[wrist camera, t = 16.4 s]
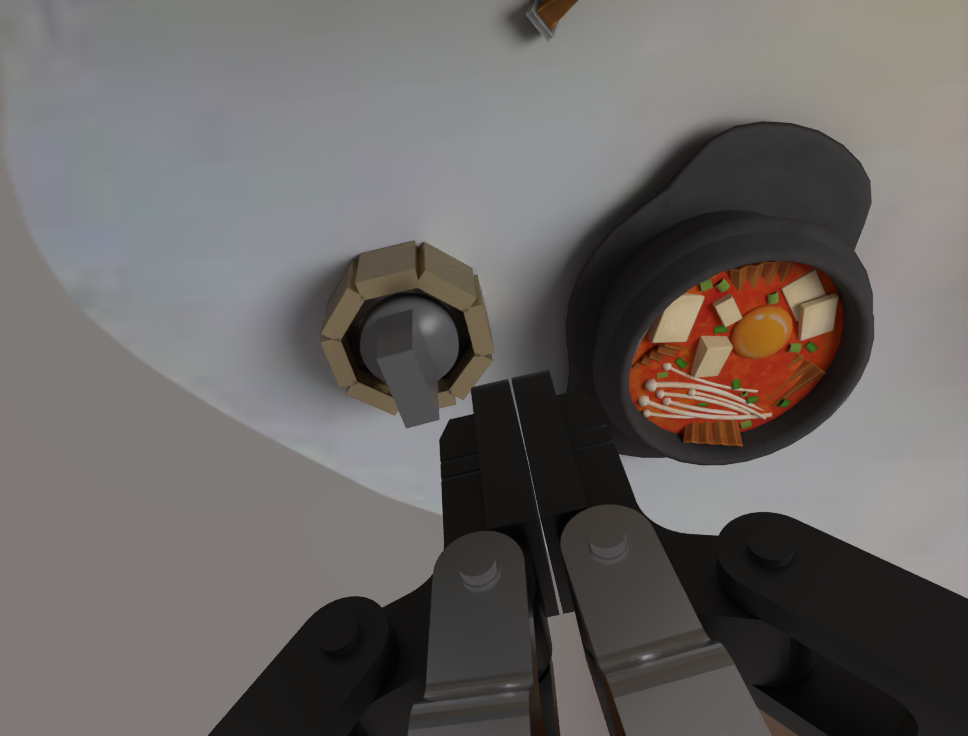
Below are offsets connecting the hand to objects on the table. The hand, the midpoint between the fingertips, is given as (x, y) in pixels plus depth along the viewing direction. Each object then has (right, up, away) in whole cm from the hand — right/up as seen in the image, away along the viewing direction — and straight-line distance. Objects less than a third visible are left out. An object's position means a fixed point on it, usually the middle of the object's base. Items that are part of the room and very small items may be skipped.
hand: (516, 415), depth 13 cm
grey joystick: (-5, +3, +30) cm, 30 cm away
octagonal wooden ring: (-6, +4, +32) cm, 32 cm away
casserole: (+14, +6, +33) cm, 36 cm away
